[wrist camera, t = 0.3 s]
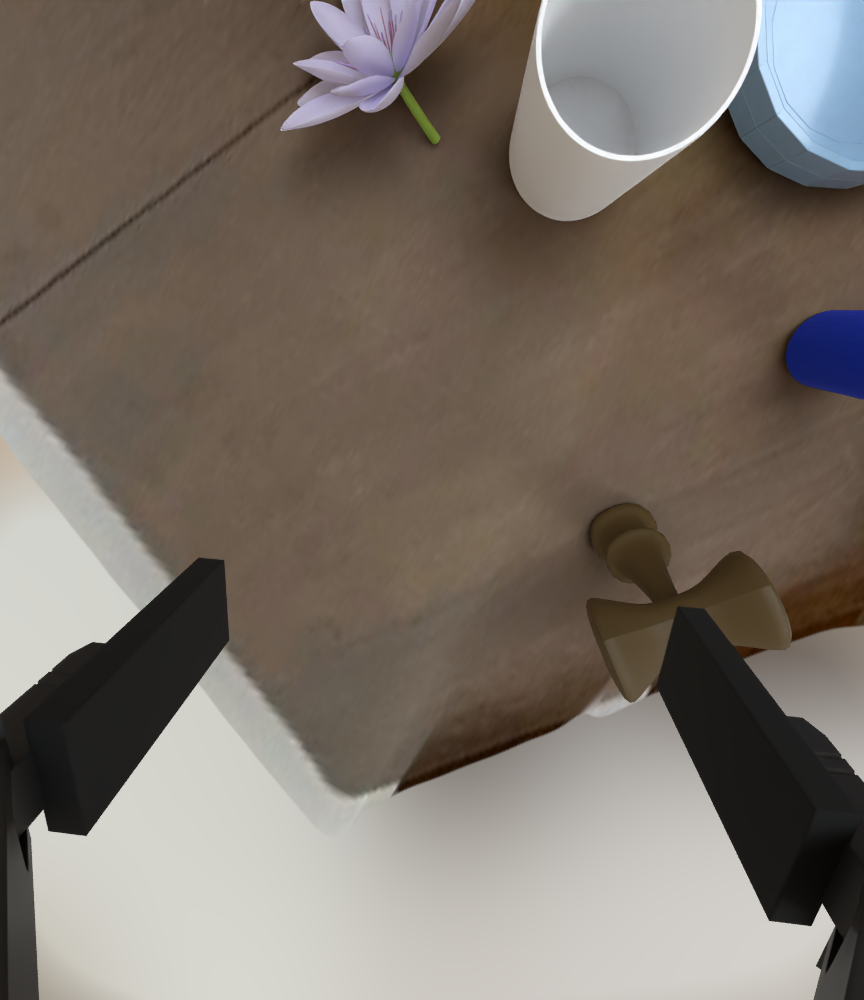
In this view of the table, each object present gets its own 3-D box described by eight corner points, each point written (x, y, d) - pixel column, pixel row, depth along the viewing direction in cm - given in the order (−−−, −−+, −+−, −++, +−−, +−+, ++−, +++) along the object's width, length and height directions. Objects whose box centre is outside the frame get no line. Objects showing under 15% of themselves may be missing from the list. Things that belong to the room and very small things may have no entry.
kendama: (551, 521, 44) (608, 682, 25) (669, 474, 42) (827, 612, 23) (577, 582, 46) (649, 776, 27) (692, 540, 44) (857, 718, 25)
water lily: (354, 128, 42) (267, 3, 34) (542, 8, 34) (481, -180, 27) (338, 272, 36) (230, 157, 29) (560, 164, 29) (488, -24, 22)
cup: (564, 42, 33) (638, -173, 18) (665, 130, 34) (814, -5, 19) (483, 169, 36) (490, 72, 21) (580, 247, 37) (652, 207, 22)
